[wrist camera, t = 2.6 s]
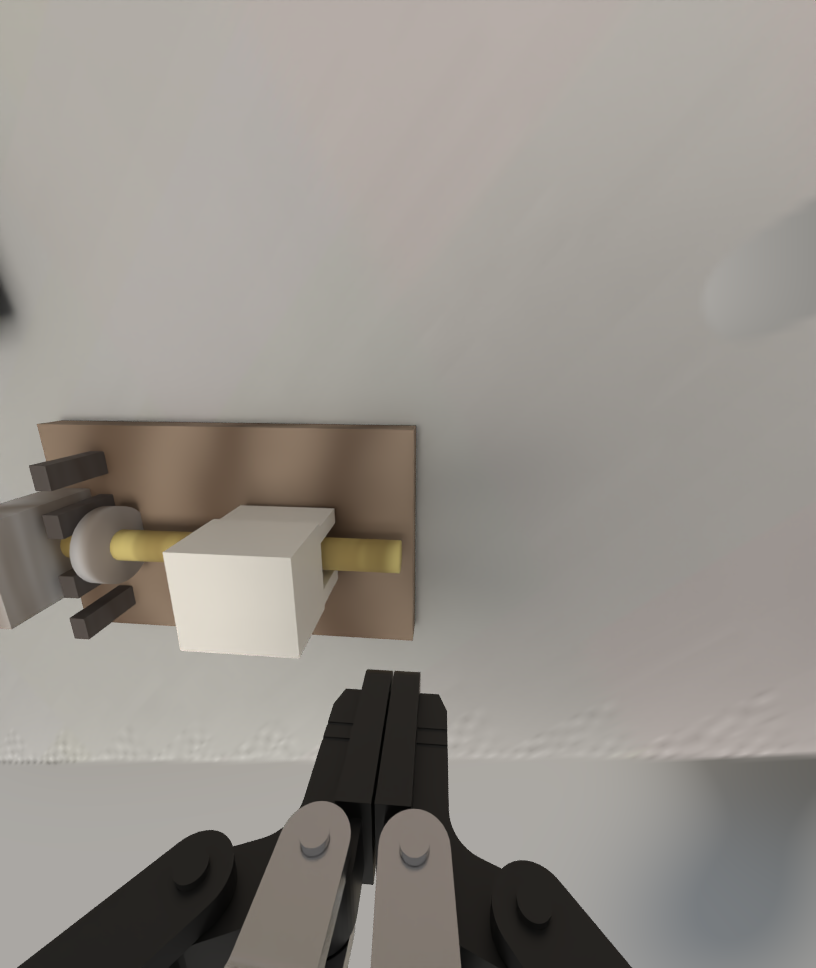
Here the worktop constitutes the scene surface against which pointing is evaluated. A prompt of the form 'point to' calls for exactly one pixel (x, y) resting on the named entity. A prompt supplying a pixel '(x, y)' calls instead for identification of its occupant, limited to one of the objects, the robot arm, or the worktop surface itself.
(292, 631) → the cream stepped block
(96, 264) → the worktop surface
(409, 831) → the robot arm
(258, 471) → the slider rod mechanism
